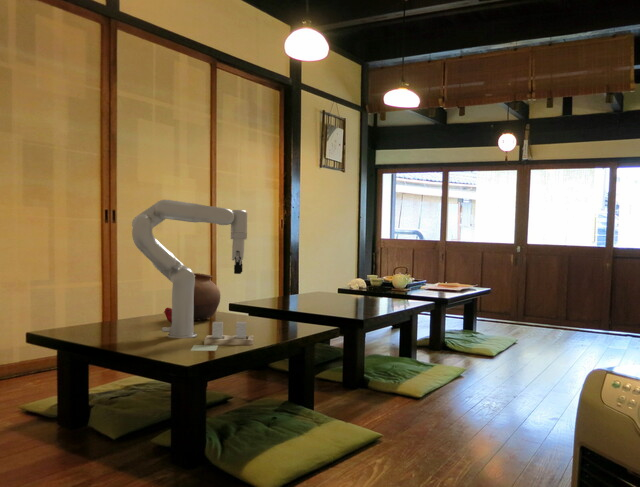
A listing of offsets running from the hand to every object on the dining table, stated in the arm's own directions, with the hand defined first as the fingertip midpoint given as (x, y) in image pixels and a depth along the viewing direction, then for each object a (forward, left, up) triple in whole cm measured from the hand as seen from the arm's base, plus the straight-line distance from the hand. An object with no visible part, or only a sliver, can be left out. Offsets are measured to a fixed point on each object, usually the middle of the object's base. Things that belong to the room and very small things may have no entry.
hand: (238, 272), depth 253 cm
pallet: (-2, -23, -28) cm, 37 cm away
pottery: (-23, +38, -28) cm, 53 cm away
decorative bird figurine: (-30, +18, -28) cm, 45 cm away
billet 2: (+3, -23, -28) cm, 37 cm away
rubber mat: (-11, -34, -28) cm, 46 cm away
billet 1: (-7, -23, -28) cm, 37 cm away
